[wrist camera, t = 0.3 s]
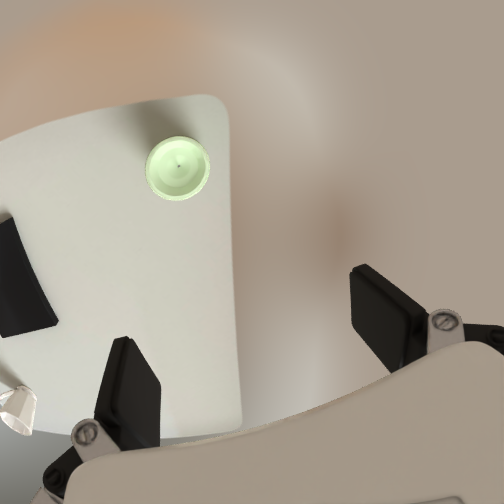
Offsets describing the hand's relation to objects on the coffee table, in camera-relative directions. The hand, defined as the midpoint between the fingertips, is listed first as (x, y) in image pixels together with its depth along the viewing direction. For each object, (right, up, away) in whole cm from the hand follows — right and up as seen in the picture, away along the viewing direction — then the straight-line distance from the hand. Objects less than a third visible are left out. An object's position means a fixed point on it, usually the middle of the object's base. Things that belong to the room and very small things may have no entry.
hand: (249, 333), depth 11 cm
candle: (-7, +12, +16) cm, 21 cm away
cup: (-43, -23, +22) cm, 53 cm away
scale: (-33, -1, +15) cm, 37 cm away
